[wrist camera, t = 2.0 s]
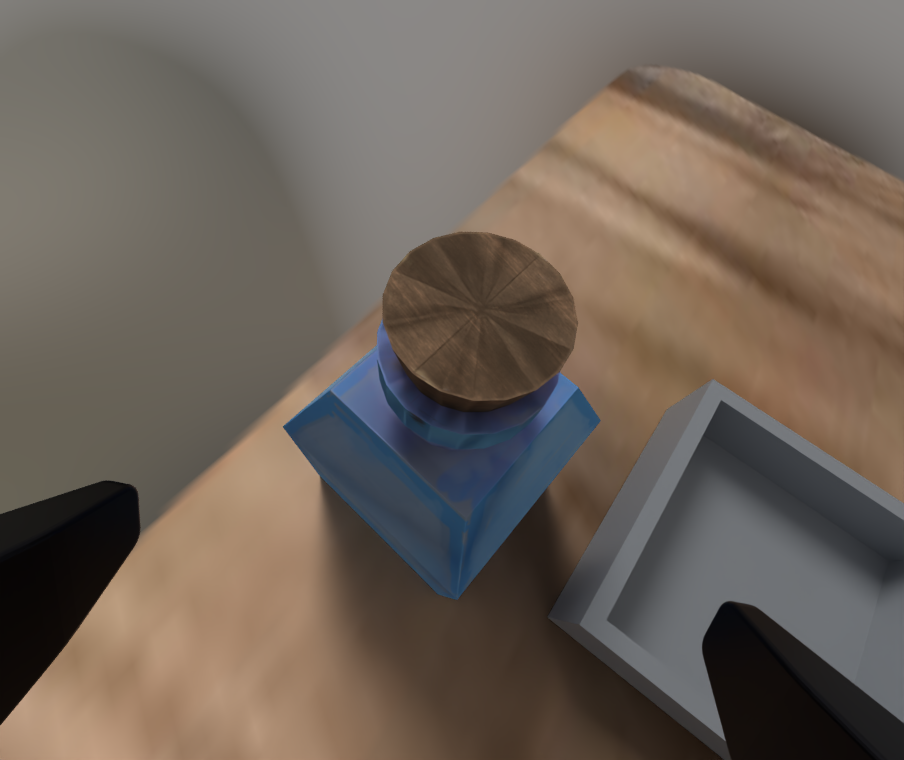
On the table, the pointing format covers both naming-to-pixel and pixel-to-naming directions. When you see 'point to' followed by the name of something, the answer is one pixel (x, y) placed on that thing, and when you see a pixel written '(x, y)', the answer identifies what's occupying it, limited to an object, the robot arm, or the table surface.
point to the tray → (739, 559)
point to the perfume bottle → (454, 405)
